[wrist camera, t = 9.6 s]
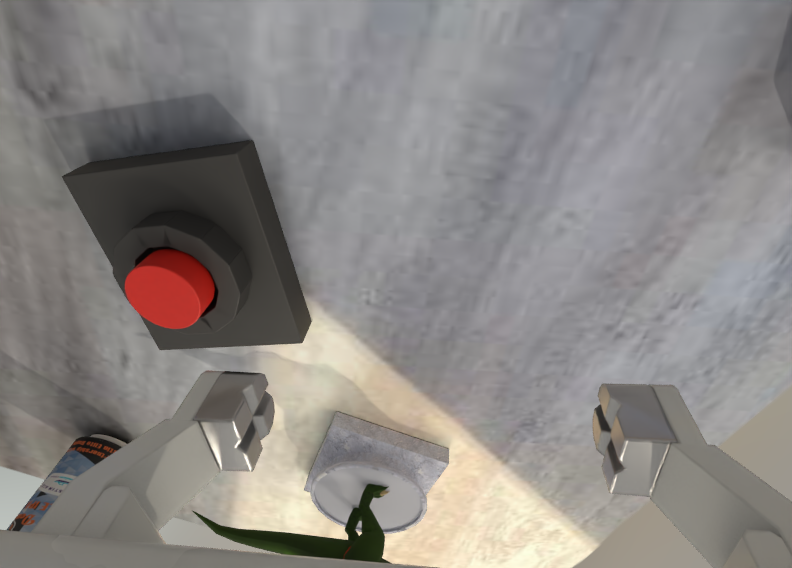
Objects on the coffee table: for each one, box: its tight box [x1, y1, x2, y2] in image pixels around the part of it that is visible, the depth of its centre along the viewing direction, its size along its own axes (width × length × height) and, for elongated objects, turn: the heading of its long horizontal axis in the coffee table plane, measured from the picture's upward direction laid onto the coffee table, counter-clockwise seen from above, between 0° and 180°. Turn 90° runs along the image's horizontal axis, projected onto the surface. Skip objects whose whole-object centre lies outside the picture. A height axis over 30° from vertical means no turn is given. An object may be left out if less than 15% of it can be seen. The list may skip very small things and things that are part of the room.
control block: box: [62, 140, 312, 350], centre depth 27 cm, size 12×10×4 cm
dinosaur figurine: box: [193, 412, 449, 564], centre depth 33 cm, size 9×20×12 cm, turn 70°
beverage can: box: [7, 434, 127, 532], centre depth 37 cm, size 6×7×12 cm
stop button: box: [125, 249, 215, 329], centre depth 25 cm, size 4×4×2 cm
